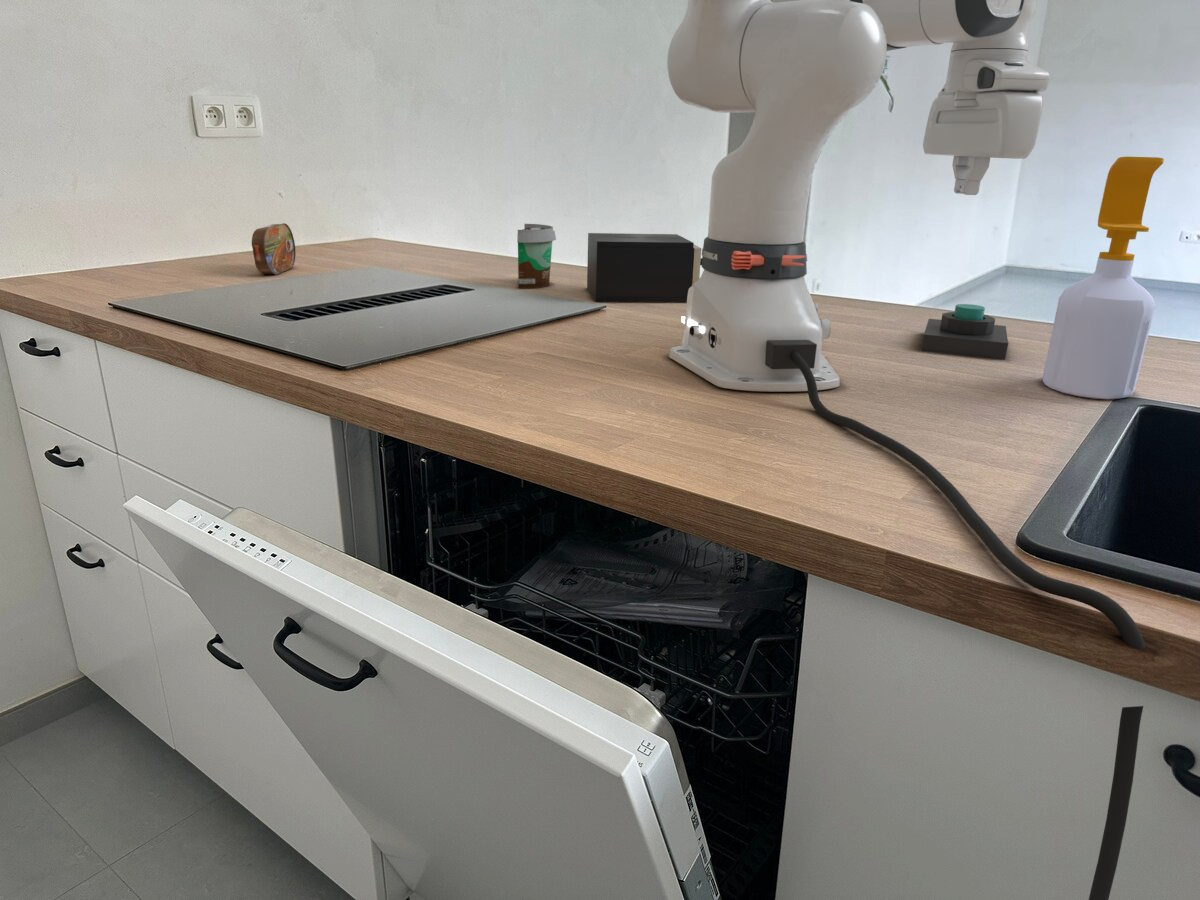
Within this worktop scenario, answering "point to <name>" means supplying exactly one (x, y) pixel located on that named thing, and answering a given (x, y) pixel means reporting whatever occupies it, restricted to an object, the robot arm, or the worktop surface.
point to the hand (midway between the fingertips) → (965, 194)
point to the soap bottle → (1106, 300)
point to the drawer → (696, 264)
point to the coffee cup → (534, 255)
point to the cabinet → (639, 267)
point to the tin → (273, 249)
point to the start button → (969, 311)
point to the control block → (966, 337)
